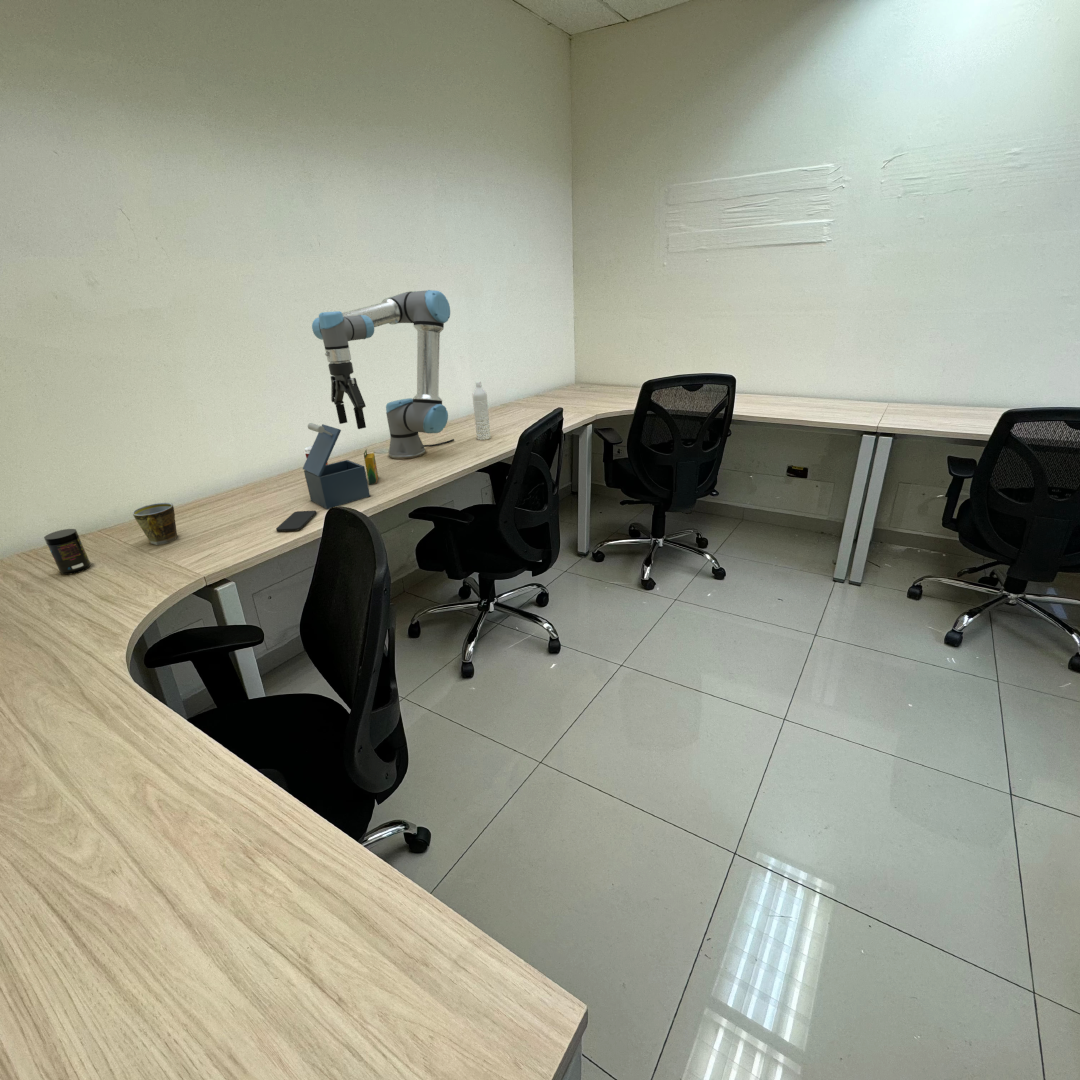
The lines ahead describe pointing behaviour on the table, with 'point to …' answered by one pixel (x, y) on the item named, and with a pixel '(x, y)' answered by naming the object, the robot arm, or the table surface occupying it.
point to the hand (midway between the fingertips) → (352, 425)
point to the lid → (321, 448)
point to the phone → (296, 521)
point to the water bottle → (481, 413)
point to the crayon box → (371, 467)
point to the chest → (338, 484)
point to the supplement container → (67, 551)
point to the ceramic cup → (157, 522)
